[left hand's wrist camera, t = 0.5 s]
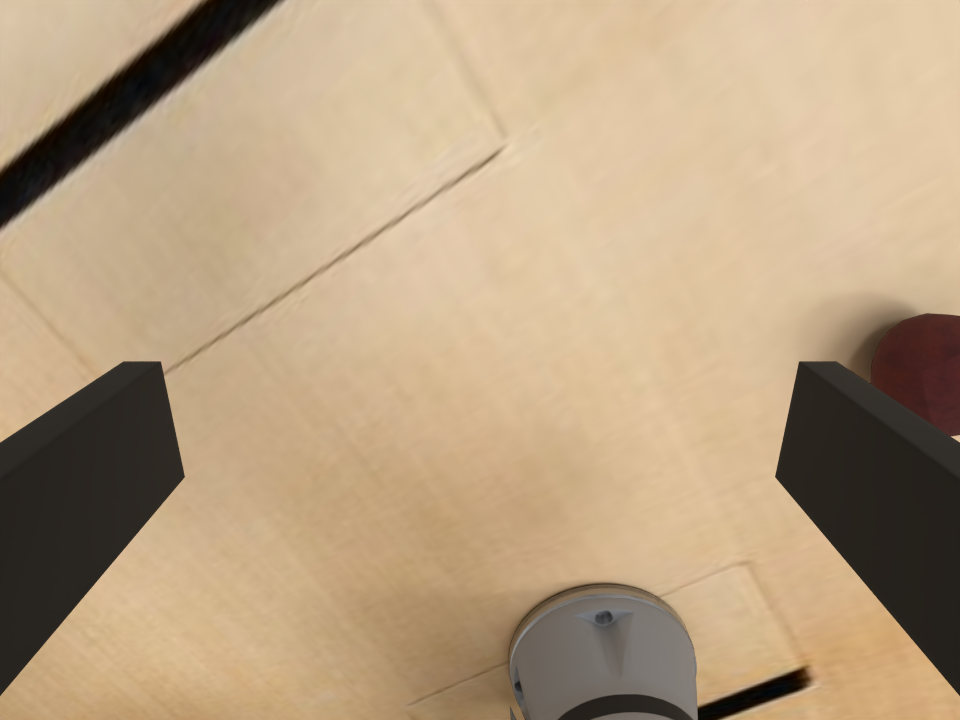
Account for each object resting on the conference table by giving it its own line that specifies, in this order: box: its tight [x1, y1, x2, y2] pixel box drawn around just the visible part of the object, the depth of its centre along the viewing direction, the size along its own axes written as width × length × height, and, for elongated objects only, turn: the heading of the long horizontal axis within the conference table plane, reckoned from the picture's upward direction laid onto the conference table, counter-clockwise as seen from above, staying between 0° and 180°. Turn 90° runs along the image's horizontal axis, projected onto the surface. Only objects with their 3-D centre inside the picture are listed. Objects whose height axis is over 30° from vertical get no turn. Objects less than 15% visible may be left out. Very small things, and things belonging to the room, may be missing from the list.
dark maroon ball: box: [871, 313, 960, 436], centre depth 38 cm, size 7×8×7 cm
